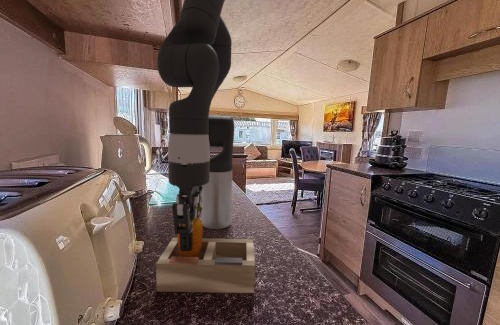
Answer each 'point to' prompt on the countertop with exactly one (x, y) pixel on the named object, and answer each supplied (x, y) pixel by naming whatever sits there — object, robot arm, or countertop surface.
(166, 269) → the frame
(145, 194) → the countertop surface
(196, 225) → the carrot
